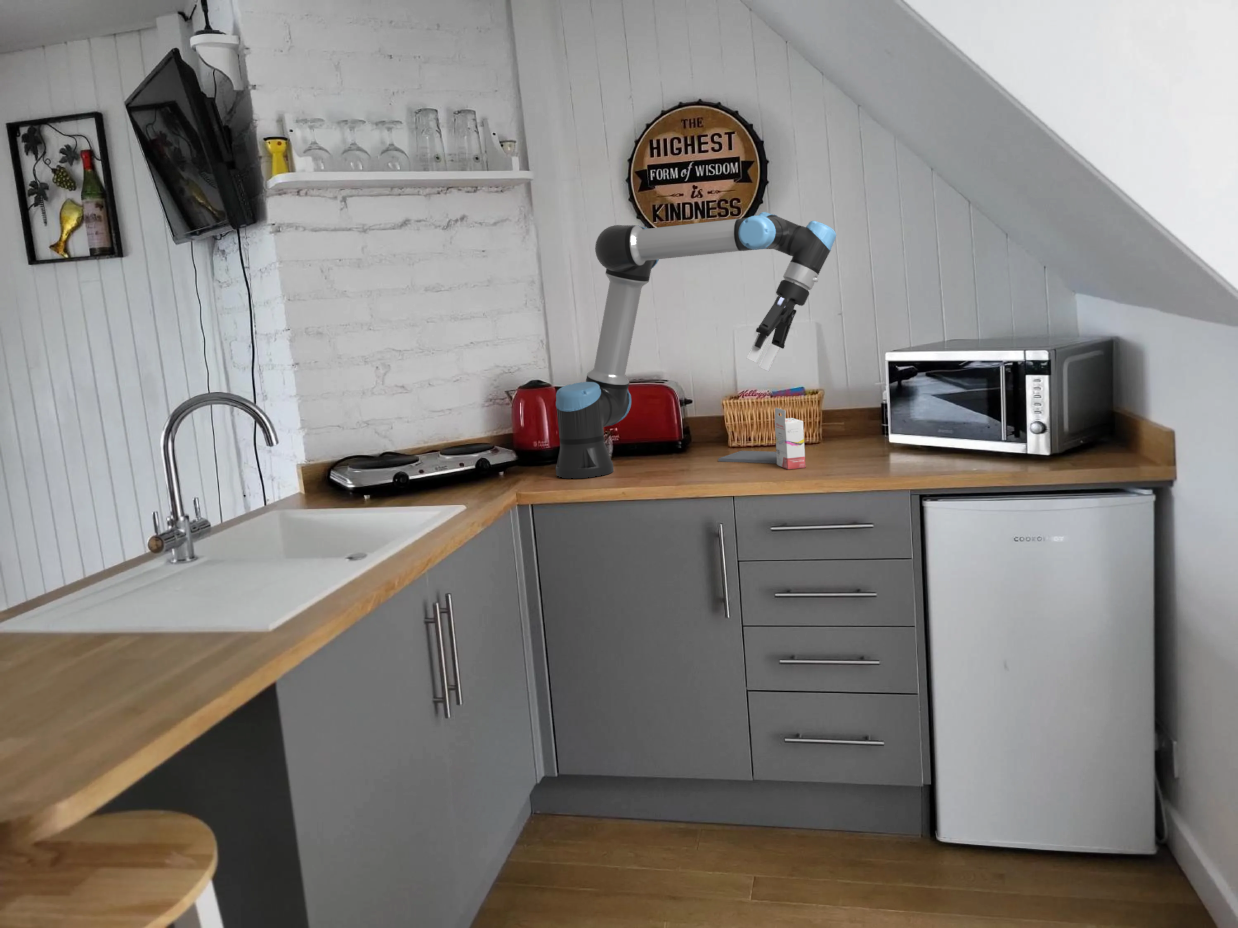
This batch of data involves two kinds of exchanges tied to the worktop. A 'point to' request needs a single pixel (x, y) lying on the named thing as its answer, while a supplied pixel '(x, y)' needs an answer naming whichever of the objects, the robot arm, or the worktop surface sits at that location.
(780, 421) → the ink cartridge box
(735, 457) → the charcoal mat
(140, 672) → the worktop surface
